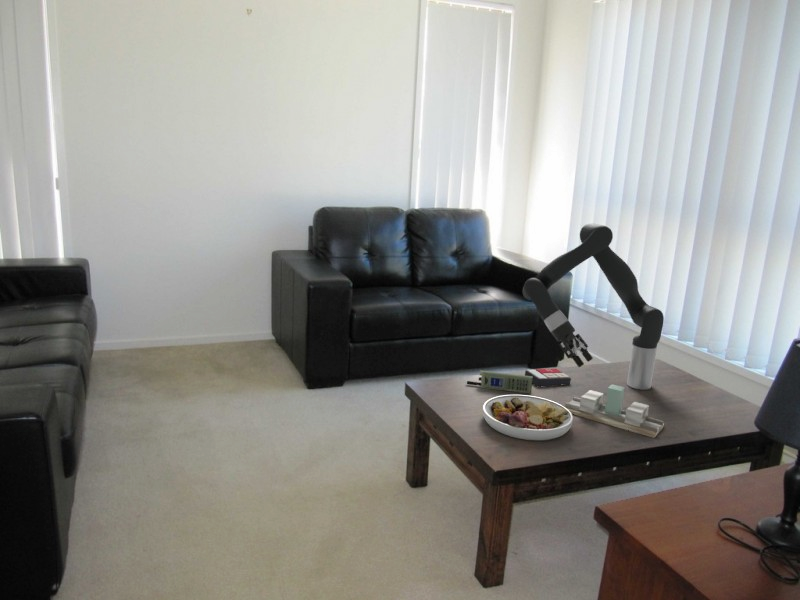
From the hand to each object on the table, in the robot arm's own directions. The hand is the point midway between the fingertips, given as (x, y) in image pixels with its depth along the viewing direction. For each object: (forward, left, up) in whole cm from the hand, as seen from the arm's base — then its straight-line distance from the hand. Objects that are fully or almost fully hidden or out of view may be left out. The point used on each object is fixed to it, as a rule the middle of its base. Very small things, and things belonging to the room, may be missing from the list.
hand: (586, 363), depth 225 cm
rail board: (0, +12, -18) cm, 21 cm away
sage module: (0, +12, -16) cm, 20 cm away
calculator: (-20, -22, -19) cm, 35 cm away
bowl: (+25, -10, -18) cm, 33 cm away
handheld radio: (+2, -32, -18) cm, 37 cm away
